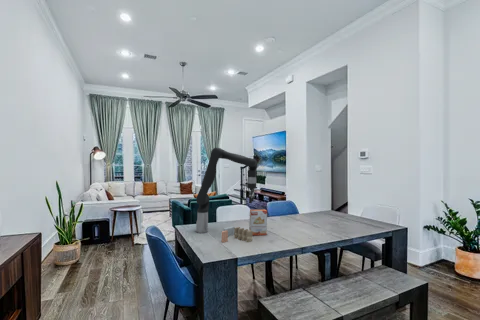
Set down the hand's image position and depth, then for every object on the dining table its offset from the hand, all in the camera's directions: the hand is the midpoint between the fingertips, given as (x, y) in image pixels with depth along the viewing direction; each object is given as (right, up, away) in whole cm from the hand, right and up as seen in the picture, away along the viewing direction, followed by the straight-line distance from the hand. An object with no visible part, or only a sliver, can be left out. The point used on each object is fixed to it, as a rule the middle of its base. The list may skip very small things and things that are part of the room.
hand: (251, 202), depth 205 cm
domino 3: (-8, -28, -7) cm, 30 cm away
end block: (-18, -28, +3) cm, 34 cm away
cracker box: (+6, -29, +5) cm, 30 cm away
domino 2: (-12, -28, -4) cm, 31 cm away
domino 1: (-21, -28, -14) cm, 38 cm away
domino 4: (-5, -28, -10) cm, 30 cm away
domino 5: (-2, -28, -13) cm, 31 cm away
